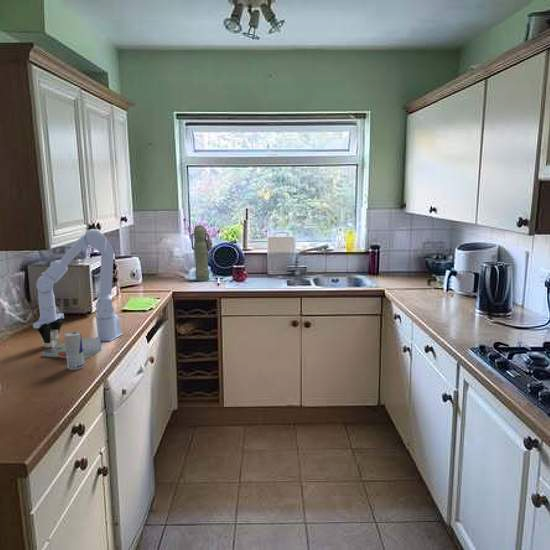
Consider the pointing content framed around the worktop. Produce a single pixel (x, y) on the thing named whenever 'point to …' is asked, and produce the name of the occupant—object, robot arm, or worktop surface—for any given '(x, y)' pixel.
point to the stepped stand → (88, 345)
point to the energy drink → (74, 350)
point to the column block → (53, 339)
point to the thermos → (201, 253)
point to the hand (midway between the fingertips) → (51, 341)
